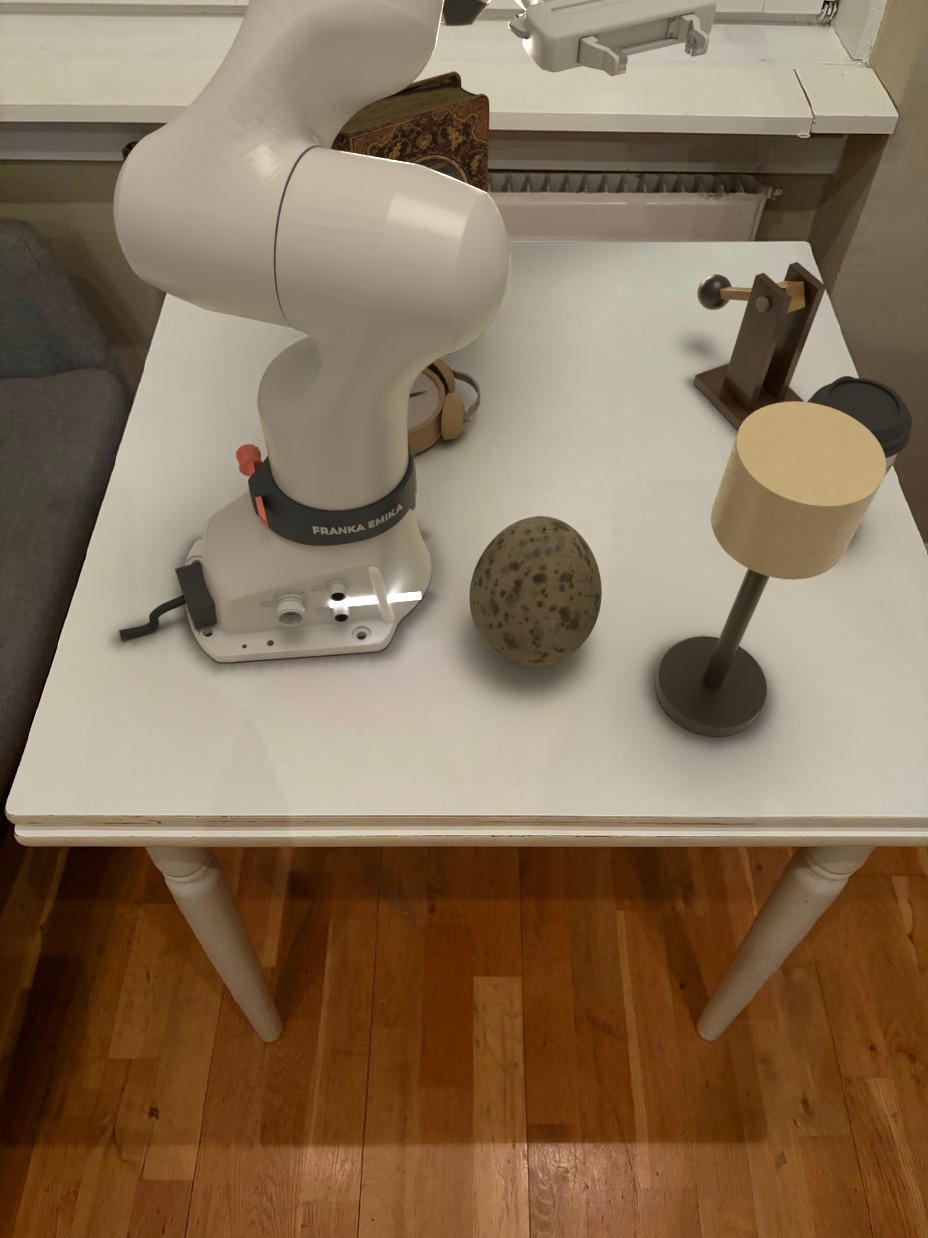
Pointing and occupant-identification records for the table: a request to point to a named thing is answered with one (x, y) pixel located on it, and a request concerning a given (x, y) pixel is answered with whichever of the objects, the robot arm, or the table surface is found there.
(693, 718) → the lamp
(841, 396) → the coffee cup
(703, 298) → the lever
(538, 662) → the decorative egg
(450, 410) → the alarm clock
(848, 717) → the table surface
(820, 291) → the switch block
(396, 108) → the book
